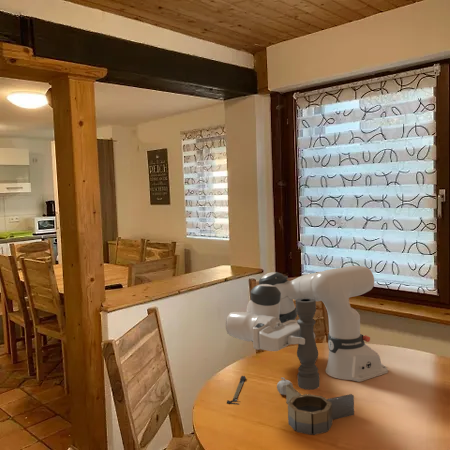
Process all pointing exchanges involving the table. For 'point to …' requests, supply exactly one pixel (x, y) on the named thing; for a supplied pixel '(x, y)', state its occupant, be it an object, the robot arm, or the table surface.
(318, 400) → the octagonal collar with flanges
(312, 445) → the table surface
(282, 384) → the garlic
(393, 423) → the table surface
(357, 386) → the table surface
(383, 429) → the table surface
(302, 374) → the candle holder
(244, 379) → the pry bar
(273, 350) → the robot arm
